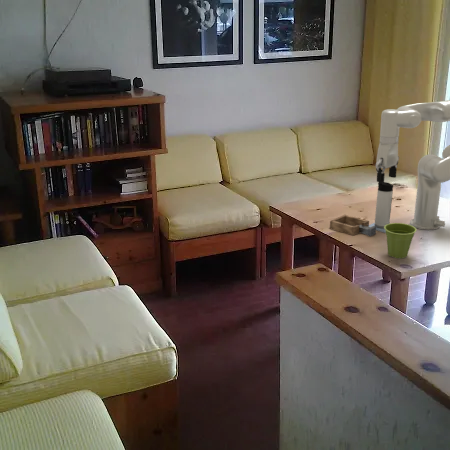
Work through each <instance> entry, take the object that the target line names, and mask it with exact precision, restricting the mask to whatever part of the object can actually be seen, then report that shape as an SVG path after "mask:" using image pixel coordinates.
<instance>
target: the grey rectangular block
mask: <svg viewBox="0 0 450 450" xmlns="http://www.w3.org/2000/svg"><path fill="white" fill-rule="evenodd" d="M358 234H362V235H366V236H367V237H372V236H374V235H376V234H377V230H376V227H375V226H372V227H367V226H364V225H360V226H359V233H358Z"/></svg>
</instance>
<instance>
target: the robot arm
mask: <svg viewBox="0 0 450 450" xmlns="http://www.w3.org/2000/svg"><path fill="white" fill-rule="evenodd" d="M380 119H381V120H380V133H379V144H378V148H377V155H376V160H375V161H376V163H375V170H376V171H375V172H376V182H377V183H379V182H381V183H384V182H385V174H386V173H385V171H386V169H388V177H389V178H393V179H394V178H395V179H396V178H397V169H398V164H399V160H400V156H399V137H400V128H403V129H404V128H405V129H414V128H416V127H418V126H419V125H420V124H421V123H422V121H423V122H425V121H429V122H434V123H447V122H450V99H448V100H442V101H432V102H420V103H419V102H418V103H413V104H407V105H402V106H399V107H398V108H397V109H391V108H387V109H384V110H382V112H381V117H380ZM441 155H442V157H440V156H438V155H435V154H432V153H431V154H430V153H429V154H425V155H424V156H422V157H421V158H420V159H419V161H418V164H417V186H416V187H417V190H416V196H415V197H416V198H415V205H414V214H413V218H412V219H411V220H409V225H411V226H413V227H415V228H416V229H417V230H418V229H419V230H428V231H433V230H437V229H439V228H440V227H443V228H444V227H445V226H446V223H445V222H446V221H445V220H440V215H439V214H438V213H439V205H440V197H441V190H442V189H441V188H442V183H446V182H449V181H450V144H448V145H447V146H446V147H445V148H444V149H443V150H442V153H441ZM438 215H439V216H438Z"/></svg>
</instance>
